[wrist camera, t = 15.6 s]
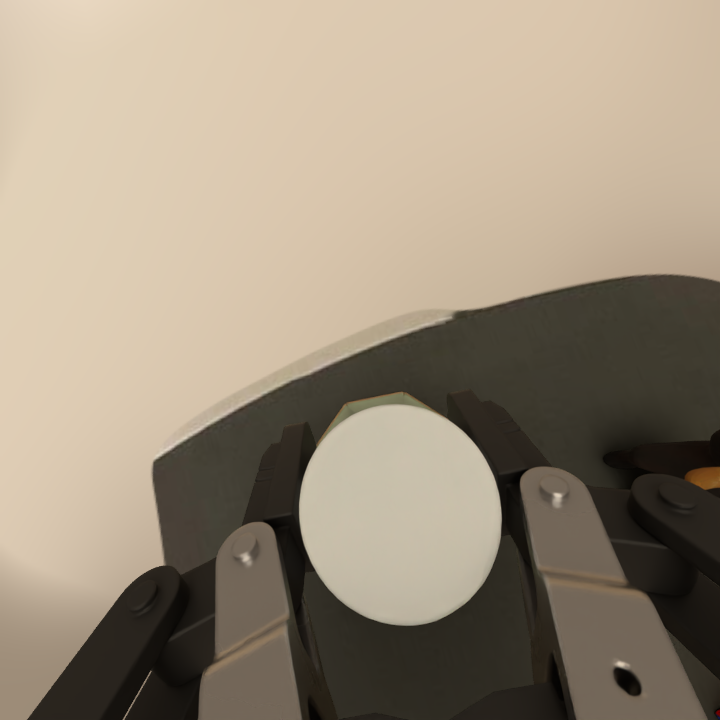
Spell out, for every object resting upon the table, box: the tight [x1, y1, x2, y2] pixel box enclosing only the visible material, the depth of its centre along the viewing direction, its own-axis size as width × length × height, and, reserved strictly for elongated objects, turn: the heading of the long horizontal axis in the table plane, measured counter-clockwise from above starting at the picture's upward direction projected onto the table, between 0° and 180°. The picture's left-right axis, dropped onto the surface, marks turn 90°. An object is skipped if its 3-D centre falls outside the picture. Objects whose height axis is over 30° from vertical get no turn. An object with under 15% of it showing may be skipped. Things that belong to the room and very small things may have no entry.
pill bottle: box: [299, 404, 502, 626], centre depth 10 cm, size 5×5×8 cm
